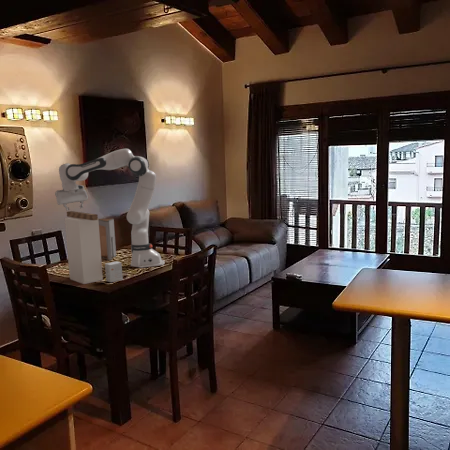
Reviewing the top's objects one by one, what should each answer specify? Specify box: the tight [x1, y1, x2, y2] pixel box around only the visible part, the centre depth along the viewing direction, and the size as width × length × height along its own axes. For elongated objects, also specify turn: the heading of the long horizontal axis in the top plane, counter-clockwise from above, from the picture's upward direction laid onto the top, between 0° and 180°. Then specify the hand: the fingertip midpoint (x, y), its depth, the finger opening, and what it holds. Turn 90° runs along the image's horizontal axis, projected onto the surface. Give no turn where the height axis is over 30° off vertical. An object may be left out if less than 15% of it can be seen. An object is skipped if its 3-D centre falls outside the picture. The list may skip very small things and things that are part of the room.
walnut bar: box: [66, 210, 99, 220], centre depth 274 cm, size 32×3×3 cm, turn 44°
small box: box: [104, 260, 124, 283], centre depth 275 cm, size 8×6×10 cm
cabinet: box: [98, 218, 117, 262], centre depth 339 cm, size 21×10×28 cm, turn 36°
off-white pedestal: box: [64, 217, 104, 285], centre depth 278 cm, size 18×12×37 cm, turn 44°
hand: (74, 209), depth 307 cm, fingers open, 8 cm apart
